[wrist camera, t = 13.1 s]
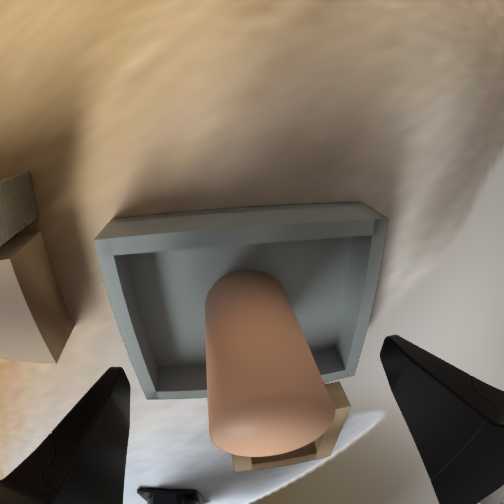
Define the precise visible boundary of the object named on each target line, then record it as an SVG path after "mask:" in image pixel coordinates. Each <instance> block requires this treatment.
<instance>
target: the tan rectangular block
mask: <svg viewBox="0 0 504 504" xmlns="http://www.w3.org/2000/svg"><path fill="white" fill-rule="evenodd" d="M73 328H74V325H73V323H72V320H71V318H70V316H69V313H68V311H67V308H66V306H65V303H64V301H63V298H62V295H61V293H60V290H59V287H58V284H57V281H56V279H55V276H54V273H53V270H52V267H51V264H50V260H49V257H48V254H47V250H46V247H45V244H44V240H43V236H42V233H41V232H36V233H30V234H24V235H19V236H13V237H12V238H10V239H9V240H8V241H7V242H5V243H4V244H3V245H2V246H0V359H6V360H15V361H25V362H36V363H51V364H57V362H58V359H59V357H60V355H61V353H62V351H63V349H64V347H65V344H66V342H67V340H68V338H69V336H70V334H71V332H72V330H73Z"/></svg>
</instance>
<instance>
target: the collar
mask: <svg viewBox="0 0 504 504" xmlns="http://www.w3.org/2000/svg"><path fill="white" fill-rule="evenodd" d="M325 387H326V389H327V392H328V394H329V396H330V399H331V401H332V404H333V406H334V409H335V418H334V421H333V423H332V425H331V426H330V427H329V429H328V430H327V431H326V432H325V433H324V434H323V435H321V436H320V437H319V438H317V439H316V440H314V441H313V442H311V443H309V444H307V445H305V446H303V447H301V448H298V449H296V450H293V451H290V452H287V453H283V454H278V455H273V456H264V457H247V456H239V455H234V454H232V459H233V464H234V468H235V472H243V471H252V470H260V469H267V468H274V467H280V466H286V465H292V464H297V463H302V462H307V461H311V460H316V459H320V458H324V457H328V456H330V455H331V453H332V451H333V448H334V446H335V444H336V441H337V439H338V437H339V434H340V432H341V429H342V427H343V424H344V422H345V419H346V417H347V414H348V412H349V409H350V404H349V401H348V399H347V397H346V395H345V392H344V390H343V388H342V386H341V384H340V382H335V383H331V384H326V385H325Z"/></svg>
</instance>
